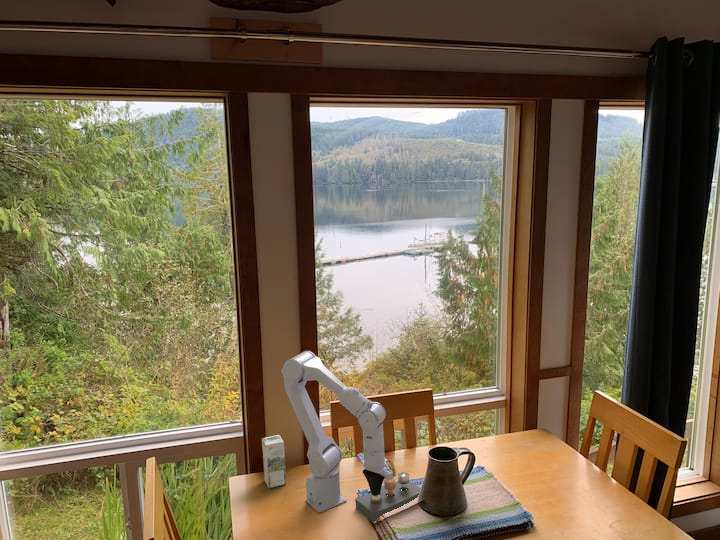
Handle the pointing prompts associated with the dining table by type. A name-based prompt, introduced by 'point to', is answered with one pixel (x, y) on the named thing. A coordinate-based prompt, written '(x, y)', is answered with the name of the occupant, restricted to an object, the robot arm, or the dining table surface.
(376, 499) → the near knob
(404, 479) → the far knob
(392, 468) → the pastry
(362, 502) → the knob panel
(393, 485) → the middle knob
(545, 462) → the dining table surface
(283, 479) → the syrup box
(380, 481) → the robot arm
